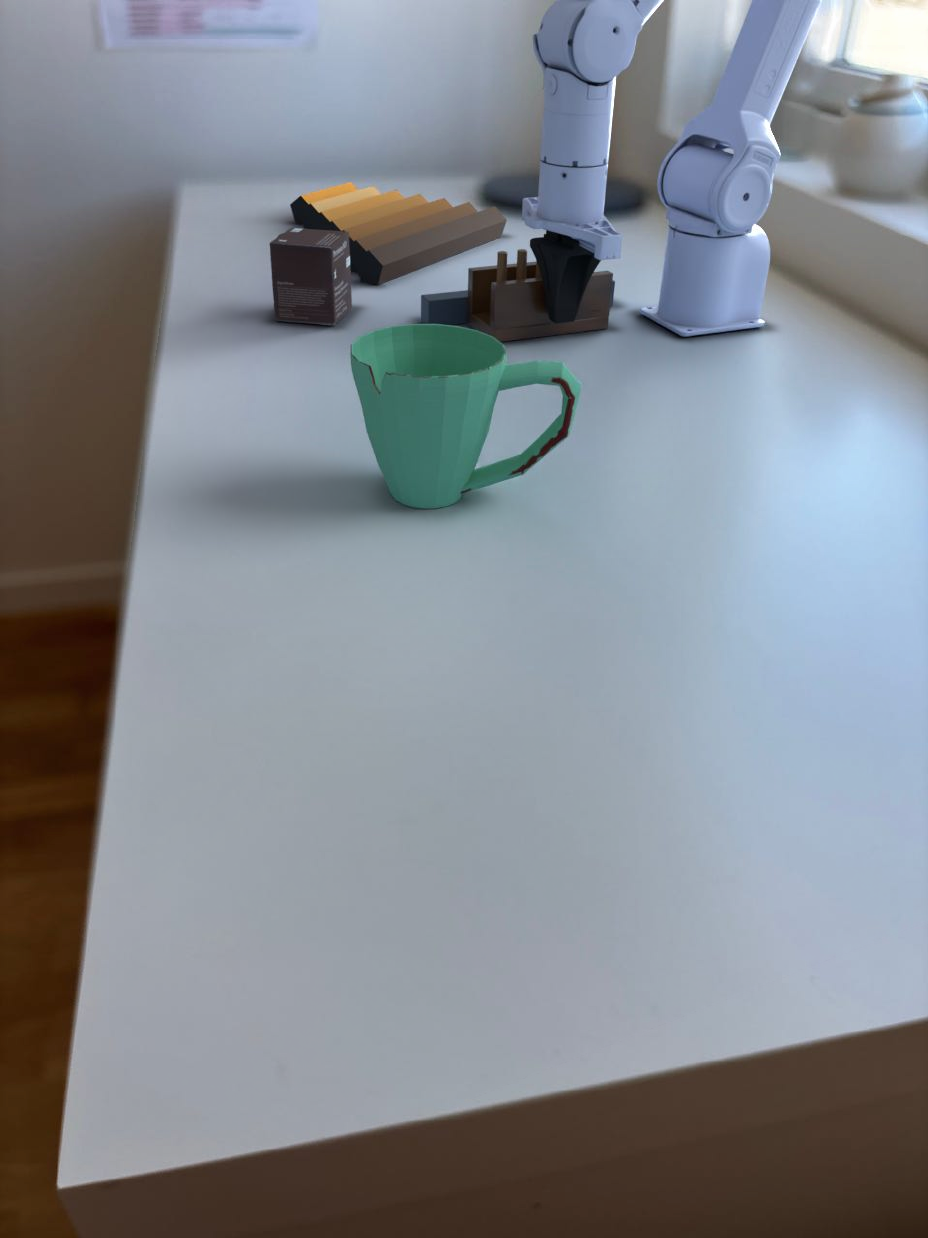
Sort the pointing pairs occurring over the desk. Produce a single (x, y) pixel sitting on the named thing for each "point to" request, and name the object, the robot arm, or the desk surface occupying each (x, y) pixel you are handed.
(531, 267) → the rack
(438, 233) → the ridged wooden panel
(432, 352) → the mug
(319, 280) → the box
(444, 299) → the rail
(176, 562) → the desk surface
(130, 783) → the desk surface
